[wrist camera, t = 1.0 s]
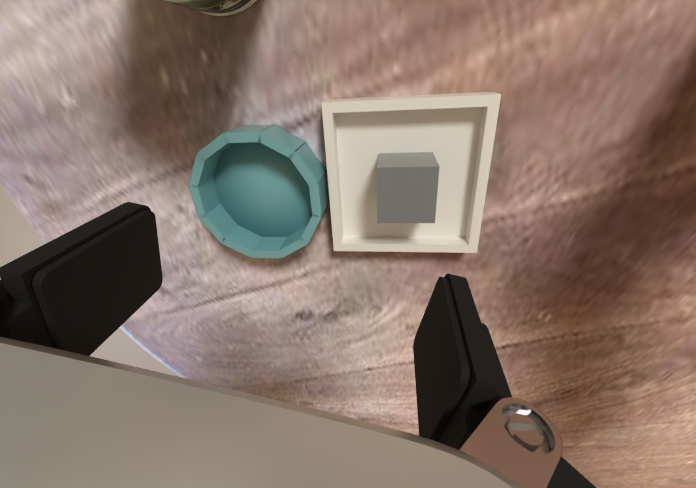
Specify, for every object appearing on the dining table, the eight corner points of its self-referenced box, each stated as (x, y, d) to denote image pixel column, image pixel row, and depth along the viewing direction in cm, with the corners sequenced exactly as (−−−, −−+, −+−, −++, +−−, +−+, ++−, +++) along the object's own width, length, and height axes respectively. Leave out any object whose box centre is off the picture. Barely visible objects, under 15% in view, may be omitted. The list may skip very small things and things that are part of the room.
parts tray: (492, 91, 26) (501, 94, 24) (471, 241, 32) (476, 252, 30) (326, 99, 27) (321, 102, 25) (337, 239, 34) (333, 250, 32)
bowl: (321, 122, 28) (312, 129, 25) (331, 241, 34) (325, 259, 31) (196, 127, 30) (173, 134, 27) (225, 240, 35) (209, 257, 32)
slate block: (432, 151, 28) (439, 166, 24) (429, 202, 30) (434, 223, 26) (379, 153, 28) (376, 167, 24) (379, 202, 30) (377, 223, 26)
